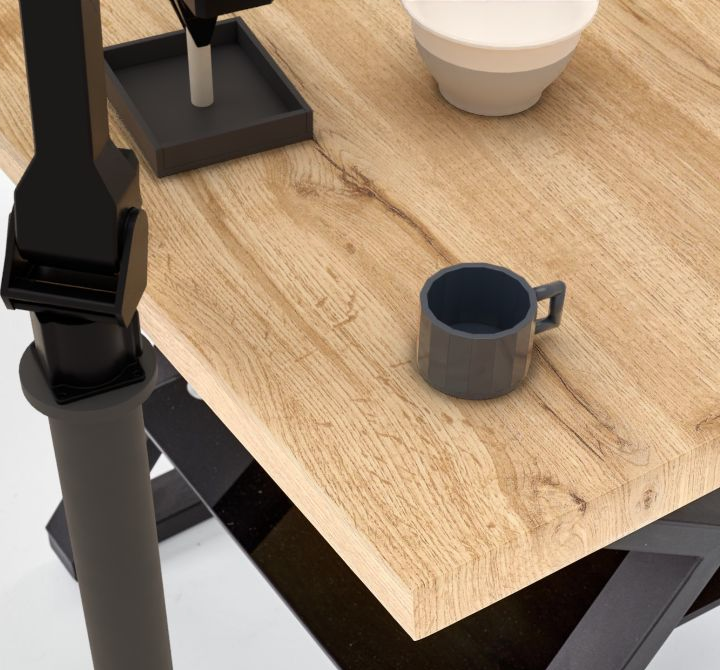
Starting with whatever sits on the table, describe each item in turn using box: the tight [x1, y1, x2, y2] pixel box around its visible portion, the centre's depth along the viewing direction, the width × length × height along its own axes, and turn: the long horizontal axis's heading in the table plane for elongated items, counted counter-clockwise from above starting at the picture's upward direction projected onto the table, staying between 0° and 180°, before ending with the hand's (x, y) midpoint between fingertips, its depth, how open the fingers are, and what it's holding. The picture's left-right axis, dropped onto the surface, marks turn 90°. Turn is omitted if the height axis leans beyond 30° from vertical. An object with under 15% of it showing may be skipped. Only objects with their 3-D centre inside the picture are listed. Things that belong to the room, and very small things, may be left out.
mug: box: [415, 261, 567, 401], centre depth 107 cm, size 11×8×6 cm
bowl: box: [399, 0, 600, 117], centre depth 128 cm, size 16×16×8 cm
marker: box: [186, 27, 213, 107], centre depth 124 cm, size 2×2×11 cm
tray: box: [103, 15, 314, 179], centre depth 128 cm, size 13×15×3 cm
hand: (197, 38), depth 124 cm, fingers closed
